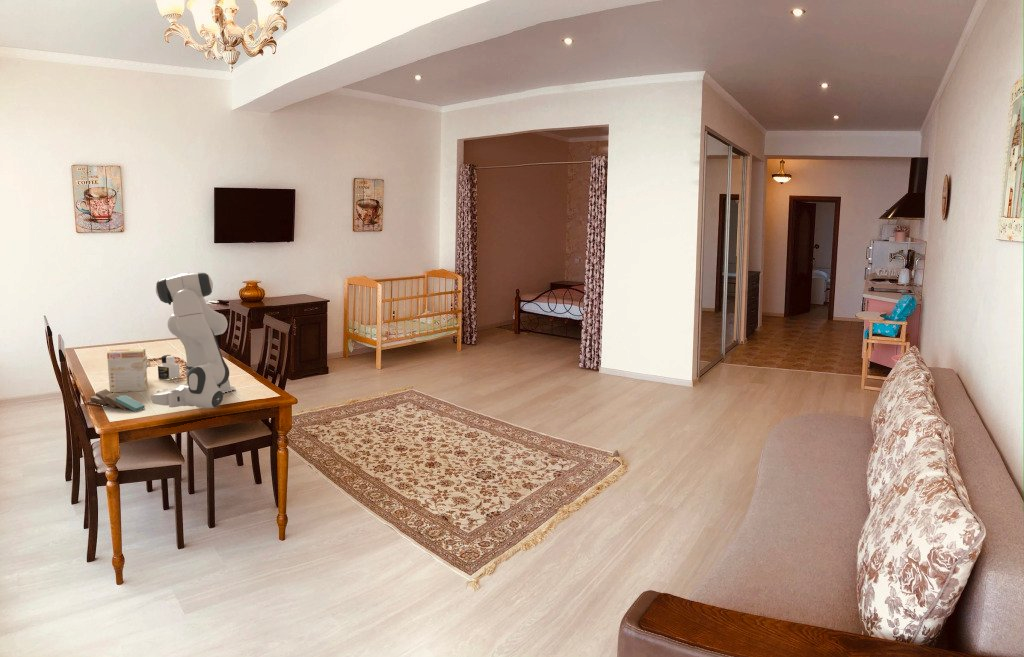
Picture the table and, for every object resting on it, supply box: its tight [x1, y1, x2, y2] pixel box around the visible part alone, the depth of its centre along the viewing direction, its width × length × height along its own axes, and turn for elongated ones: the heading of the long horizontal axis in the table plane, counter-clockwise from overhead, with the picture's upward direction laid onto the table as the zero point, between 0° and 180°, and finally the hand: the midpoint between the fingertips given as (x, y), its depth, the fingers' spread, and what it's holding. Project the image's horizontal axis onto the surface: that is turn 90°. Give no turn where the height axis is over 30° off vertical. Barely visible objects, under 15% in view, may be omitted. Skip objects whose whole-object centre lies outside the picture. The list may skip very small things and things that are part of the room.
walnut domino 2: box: [94, 388, 120, 409], centre depth 294 cm, size 2×5×11 cm
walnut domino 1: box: [89, 395, 108, 404], centre depth 298 cm, size 2×5×11 cm
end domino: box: [86, 400, 109, 407], centre depth 297 cm, size 2×5×11 cm
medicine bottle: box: [157, 354, 181, 380], centre depth 344 cm, size 7×7×12 cm
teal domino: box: [115, 394, 146, 412], centre depth 291 cm, size 2×5×11 cm
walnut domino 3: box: [104, 392, 129, 411], centre depth 292 cm, size 2×5×11 cm
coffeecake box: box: [106, 348, 149, 393], centre depth 319 cm, size 15×7×20 cm, turn 108°
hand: (159, 392), depth 286 cm, fingers closed
